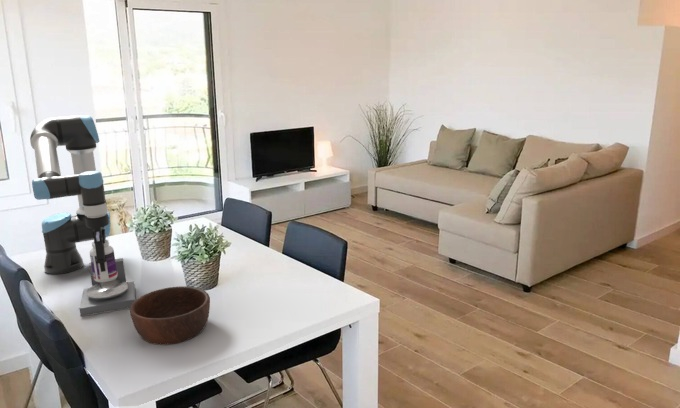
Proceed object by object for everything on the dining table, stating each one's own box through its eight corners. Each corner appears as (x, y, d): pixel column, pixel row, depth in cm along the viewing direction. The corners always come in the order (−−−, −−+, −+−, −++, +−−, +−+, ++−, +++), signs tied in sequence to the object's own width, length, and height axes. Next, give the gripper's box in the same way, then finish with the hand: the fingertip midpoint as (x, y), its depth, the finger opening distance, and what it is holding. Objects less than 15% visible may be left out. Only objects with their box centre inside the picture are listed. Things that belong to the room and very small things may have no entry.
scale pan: (89, 289, 203) (88, 284, 202) (128, 283, 207) (127, 278, 207) (85, 304, 190) (85, 298, 189) (128, 297, 194) (127, 292, 194)
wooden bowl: (218, 311, 189) (216, 284, 187) (203, 348, 165) (200, 318, 163) (147, 313, 189) (144, 287, 186) (121, 351, 165) (117, 321, 162)
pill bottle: (122, 276, 199) (117, 239, 195) (106, 284, 192) (101, 246, 188) (105, 273, 202) (99, 237, 198) (88, 282, 195) (82, 244, 191)
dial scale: (85, 292, 207) (80, 263, 204) (135, 285, 213) (131, 257, 210) (80, 316, 188) (75, 284, 185) (135, 307, 194) (130, 276, 191)
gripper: (87, 209, 199) (96, 266, 205) (82, 224, 180) (92, 287, 186) (109, 206, 201) (117, 263, 207) (106, 221, 182) (115, 283, 188)
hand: (105, 274), depth 196 cm, fingers closed on pill bottle, 8 cm apart
